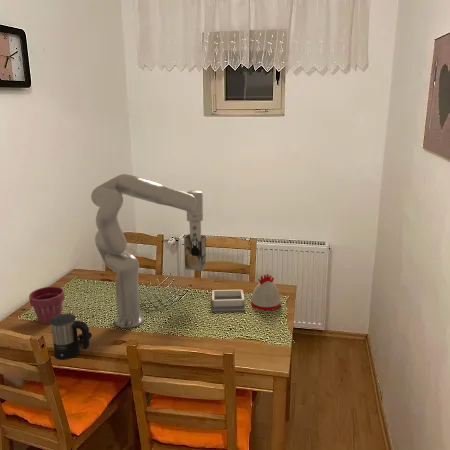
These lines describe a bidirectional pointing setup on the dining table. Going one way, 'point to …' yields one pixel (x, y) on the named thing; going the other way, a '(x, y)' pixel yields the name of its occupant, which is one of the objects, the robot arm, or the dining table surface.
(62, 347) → the milk frother
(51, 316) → the plant pot
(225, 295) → the dock
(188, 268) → the coffee box
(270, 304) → the grey red beanie hat
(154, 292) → the dining table surface
